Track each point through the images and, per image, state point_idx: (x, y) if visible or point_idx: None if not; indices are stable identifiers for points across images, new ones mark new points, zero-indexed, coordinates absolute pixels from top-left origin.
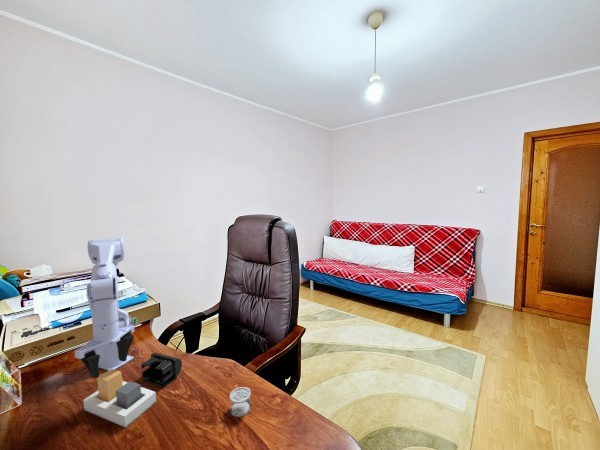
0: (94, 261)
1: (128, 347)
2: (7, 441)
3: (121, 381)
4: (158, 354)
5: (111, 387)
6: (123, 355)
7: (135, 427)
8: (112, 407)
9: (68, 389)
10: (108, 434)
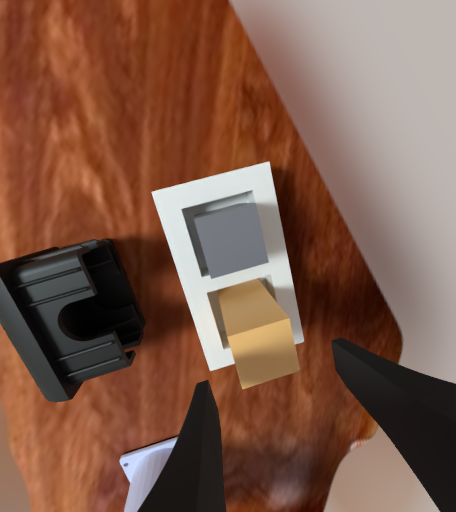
0: None
1: (178, 455)
2: (402, 345)
3: (225, 314)
4: (43, 373)
5: (262, 304)
6: (209, 414)
7: (242, 142)
8: (273, 239)
9: (283, 430)
10: (293, 184)
